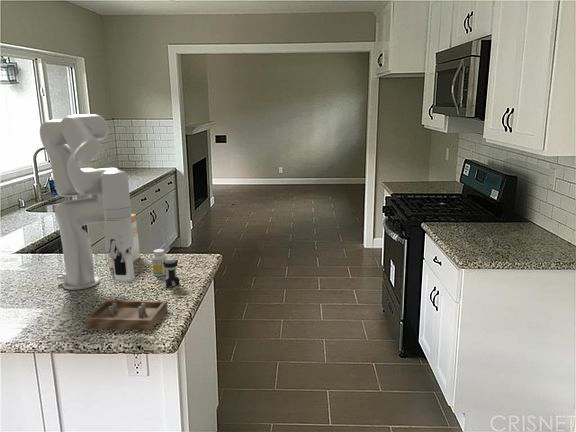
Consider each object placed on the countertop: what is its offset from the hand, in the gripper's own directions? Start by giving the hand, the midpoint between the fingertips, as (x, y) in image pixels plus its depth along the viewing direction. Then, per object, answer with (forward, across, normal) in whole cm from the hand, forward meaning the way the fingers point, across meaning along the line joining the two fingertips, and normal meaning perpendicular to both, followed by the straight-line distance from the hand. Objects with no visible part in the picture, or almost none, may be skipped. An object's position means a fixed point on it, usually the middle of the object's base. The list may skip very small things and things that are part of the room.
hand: (123, 271), depth 145 cm
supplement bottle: (+15, -40, -4) cm, 43 cm away
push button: (+15, -28, +4) cm, 32 cm away
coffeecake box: (+15, -53, -24) cm, 60 cm away
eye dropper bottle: (+3, 0, 0) cm, 3 cm away
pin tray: (+15, 0, 0) cm, 15 cm away
